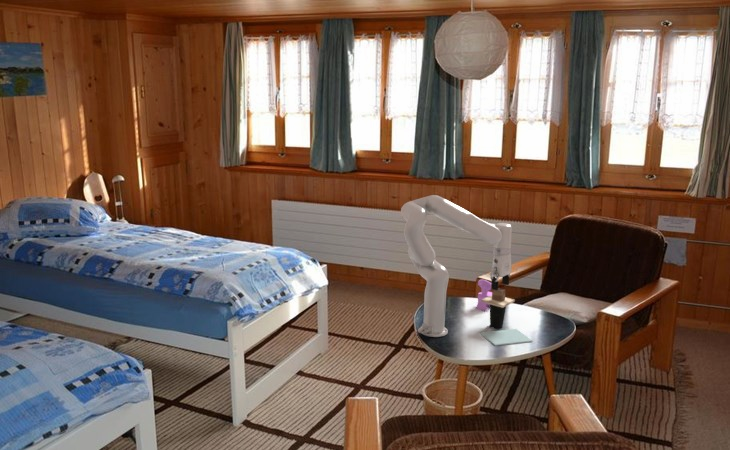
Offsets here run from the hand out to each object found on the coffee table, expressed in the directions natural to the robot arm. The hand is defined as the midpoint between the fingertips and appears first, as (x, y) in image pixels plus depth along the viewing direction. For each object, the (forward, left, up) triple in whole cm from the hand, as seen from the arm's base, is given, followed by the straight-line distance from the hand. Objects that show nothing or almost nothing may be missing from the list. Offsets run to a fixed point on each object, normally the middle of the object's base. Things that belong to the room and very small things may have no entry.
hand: (500, 286), depth 297 cm
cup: (0, 0, -19) cm, 19 cm away
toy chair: (+19, +17, -19) cm, 32 cm away
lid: (0, 0, -7) cm, 7 cm away
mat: (-9, -10, -19) cm, 23 cm away
